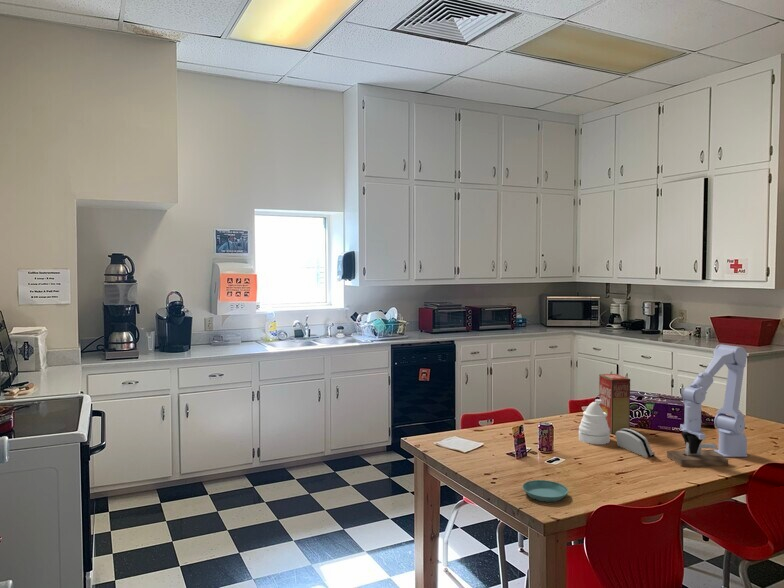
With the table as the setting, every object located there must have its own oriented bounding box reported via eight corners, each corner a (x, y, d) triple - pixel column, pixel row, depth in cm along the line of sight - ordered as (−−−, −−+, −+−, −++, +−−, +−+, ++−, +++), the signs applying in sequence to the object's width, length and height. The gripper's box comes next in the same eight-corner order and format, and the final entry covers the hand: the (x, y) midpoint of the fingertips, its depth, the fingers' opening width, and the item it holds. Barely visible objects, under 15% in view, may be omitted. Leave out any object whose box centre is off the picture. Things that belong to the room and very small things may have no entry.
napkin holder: (656, 456, 233) (649, 434, 232) (646, 461, 232) (640, 439, 231) (627, 444, 249) (621, 423, 248) (618, 449, 248) (612, 427, 246)
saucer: (542, 508, 185) (542, 499, 185) (513, 491, 198) (513, 484, 198) (577, 499, 192) (577, 491, 191) (547, 484, 205) (547, 477, 205)
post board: (711, 456, 234) (711, 450, 233) (728, 465, 223) (728, 459, 222) (666, 456, 233) (667, 450, 233) (681, 466, 222) (681, 459, 222)
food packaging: (597, 426, 277) (598, 373, 276) (616, 425, 278) (617, 373, 277) (611, 434, 264) (612, 379, 263) (631, 433, 265) (632, 378, 264)
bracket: (712, 461, 229) (714, 443, 229) (715, 463, 227) (717, 445, 227) (684, 459, 229) (686, 441, 228) (687, 461, 227) (689, 443, 226)
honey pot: (615, 441, 254) (616, 399, 253) (597, 446, 247) (597, 404, 246) (590, 433, 265) (591, 394, 264) (572, 438, 258) (572, 398, 257)
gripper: (673, 413, 234) (672, 446, 235) (692, 423, 219) (691, 458, 220) (690, 413, 234) (689, 446, 235) (711, 422, 220) (710, 458, 220)
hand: (691, 452), depth 228 cm, fingers closed on bracket, 2 cm apart
